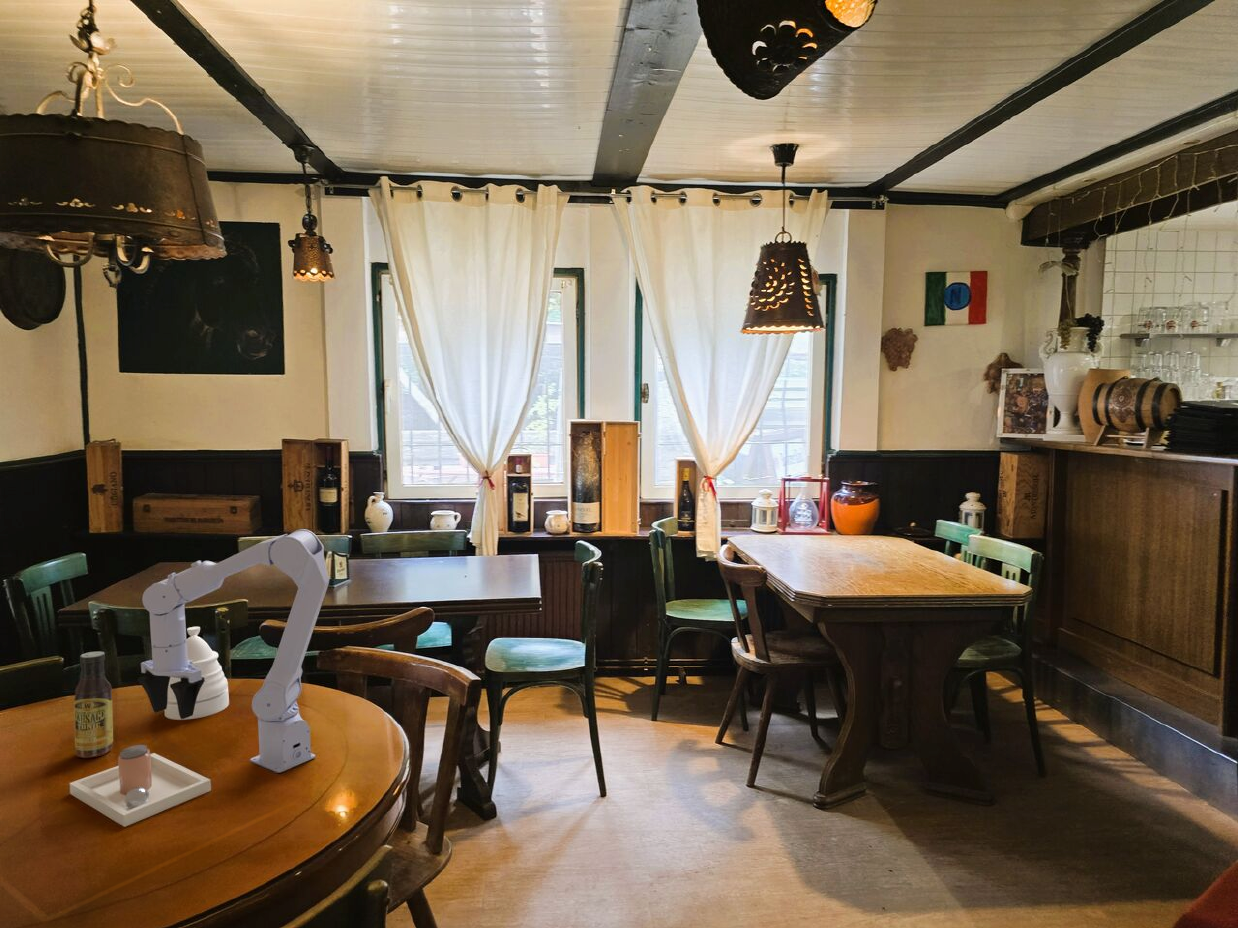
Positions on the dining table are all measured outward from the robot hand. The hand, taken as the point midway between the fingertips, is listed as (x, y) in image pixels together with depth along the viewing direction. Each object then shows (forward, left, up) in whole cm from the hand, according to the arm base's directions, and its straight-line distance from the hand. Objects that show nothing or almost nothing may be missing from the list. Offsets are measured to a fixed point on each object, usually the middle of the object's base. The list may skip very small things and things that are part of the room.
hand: (173, 713), depth 147 cm
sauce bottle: (+19, +6, -10) cm, 22 cm away
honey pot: (+25, -17, -10) cm, 32 cm away
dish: (-7, +10, -10) cm, 15 cm away
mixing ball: (-13, +13, -9) cm, 20 cm away
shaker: (-5, +9, -9) cm, 14 cm away
